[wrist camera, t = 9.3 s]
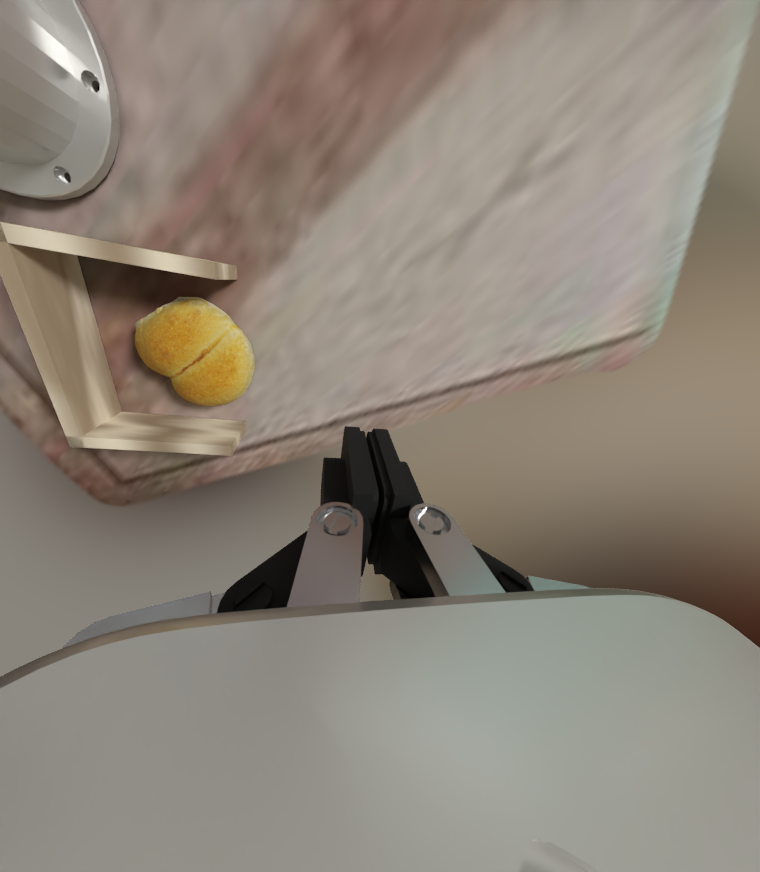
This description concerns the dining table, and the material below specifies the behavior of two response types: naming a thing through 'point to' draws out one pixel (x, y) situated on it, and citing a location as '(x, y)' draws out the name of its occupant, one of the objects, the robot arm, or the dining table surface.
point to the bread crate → (95, 342)
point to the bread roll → (197, 350)
